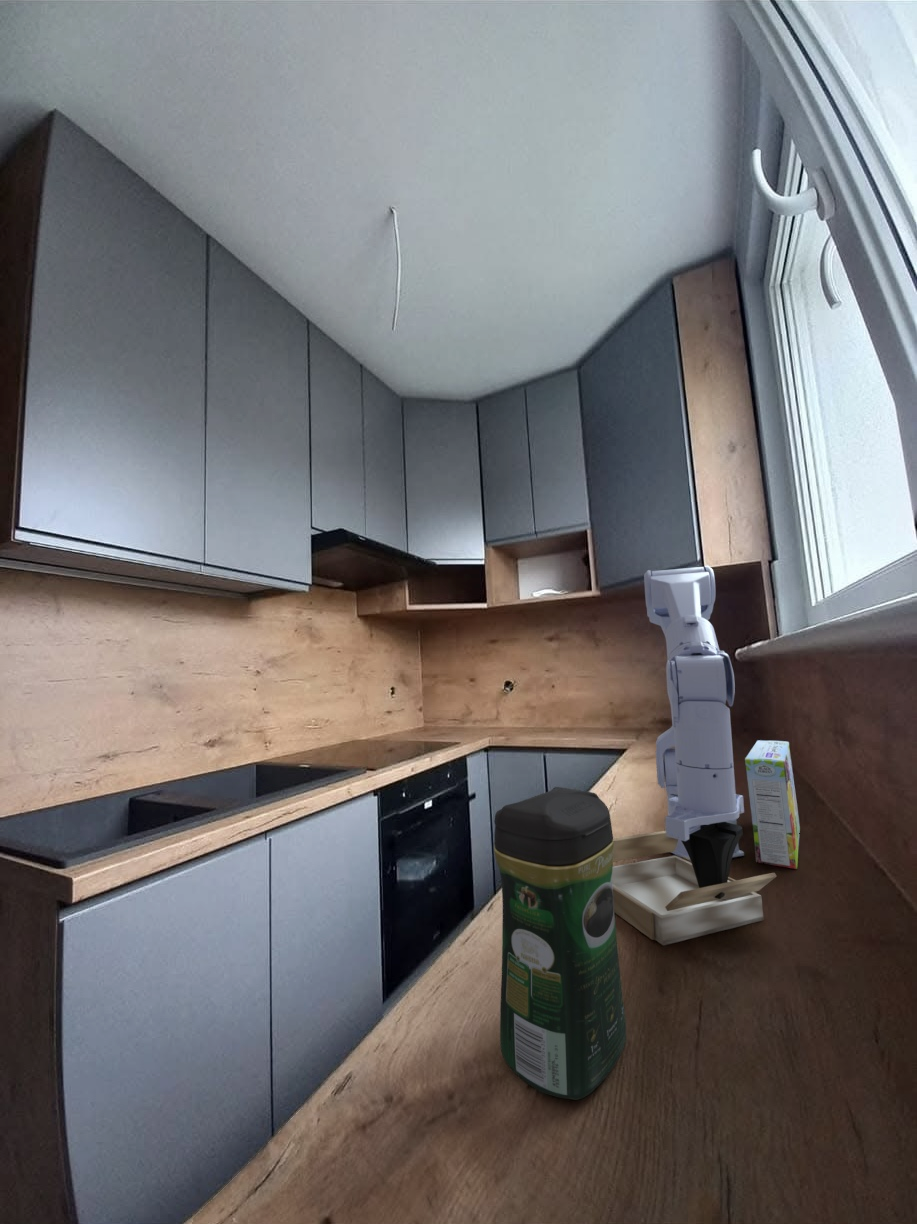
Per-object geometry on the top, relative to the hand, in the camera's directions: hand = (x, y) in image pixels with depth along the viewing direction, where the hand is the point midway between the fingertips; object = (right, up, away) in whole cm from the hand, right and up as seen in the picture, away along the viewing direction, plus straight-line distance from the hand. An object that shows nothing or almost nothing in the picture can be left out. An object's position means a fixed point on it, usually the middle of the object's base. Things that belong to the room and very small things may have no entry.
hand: (712, 894), depth 52 cm
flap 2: (0, -1, +1) cm, 1 cm away
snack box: (+24, -7, +25) cm, 36 cm away
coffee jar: (-20, -3, -16) cm, 25 cm away
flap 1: (-4, -3, +12) cm, 13 cm away
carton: (-2, -5, +6) cm, 8 cm away
